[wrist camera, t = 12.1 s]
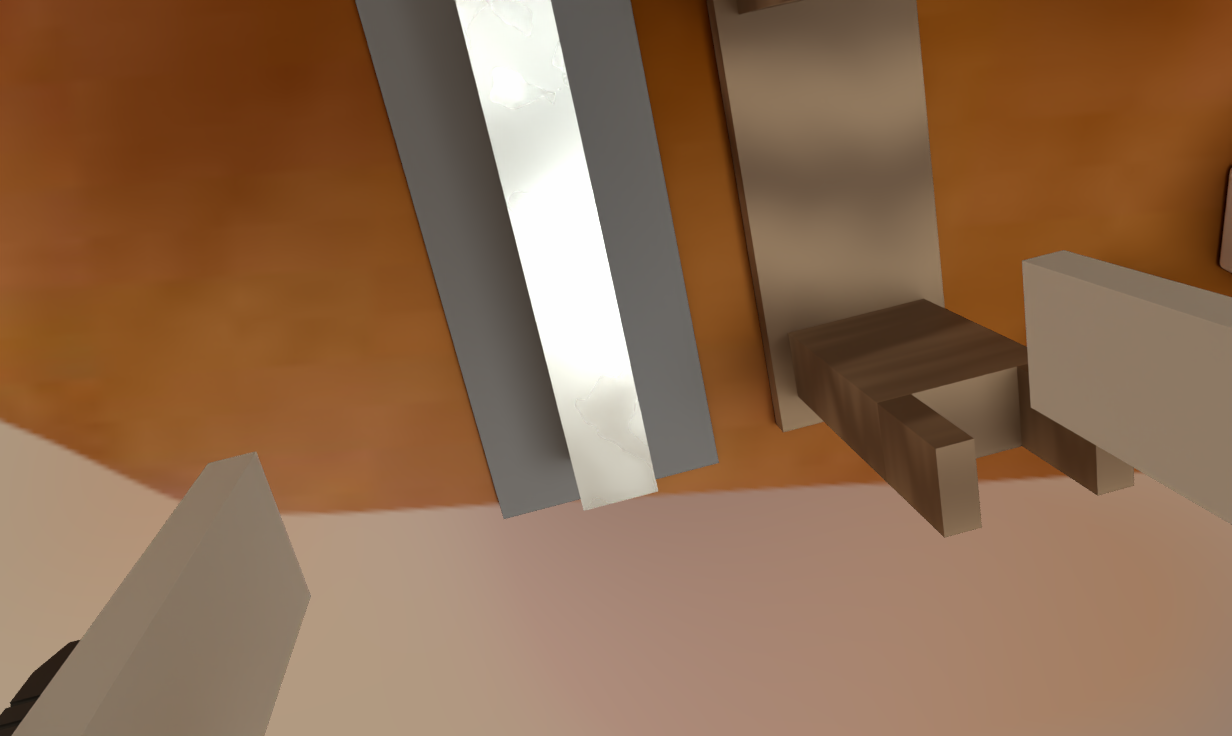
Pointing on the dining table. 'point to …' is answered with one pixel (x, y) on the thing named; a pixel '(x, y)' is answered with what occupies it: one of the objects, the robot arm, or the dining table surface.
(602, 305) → the rail
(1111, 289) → the robot arm
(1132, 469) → the stand
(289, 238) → the dining table surface
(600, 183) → the mat
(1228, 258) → the jar
